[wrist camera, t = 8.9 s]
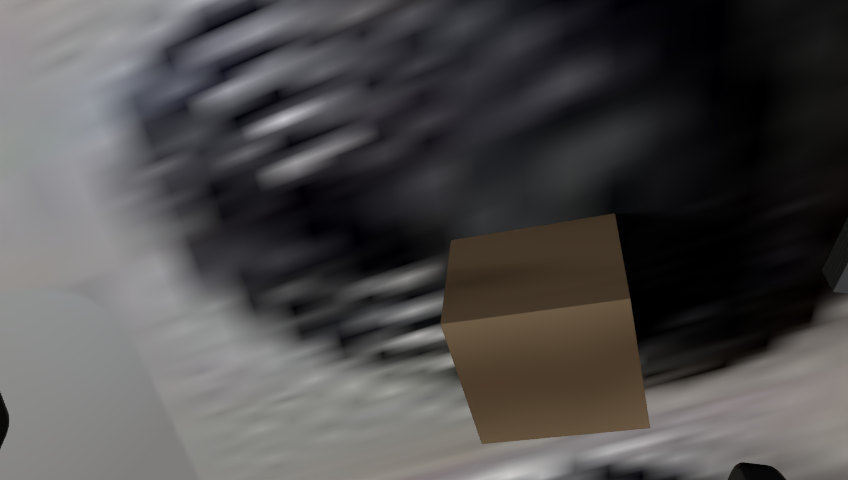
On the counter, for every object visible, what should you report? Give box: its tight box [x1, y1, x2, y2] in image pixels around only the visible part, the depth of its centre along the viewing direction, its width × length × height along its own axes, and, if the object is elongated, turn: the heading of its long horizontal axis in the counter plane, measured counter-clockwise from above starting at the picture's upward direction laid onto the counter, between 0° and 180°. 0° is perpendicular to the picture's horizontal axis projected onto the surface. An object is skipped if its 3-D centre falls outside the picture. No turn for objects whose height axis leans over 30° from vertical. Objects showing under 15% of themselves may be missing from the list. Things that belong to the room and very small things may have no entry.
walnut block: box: [441, 214, 650, 444], centre depth 23 cm, size 5×5×4 cm
